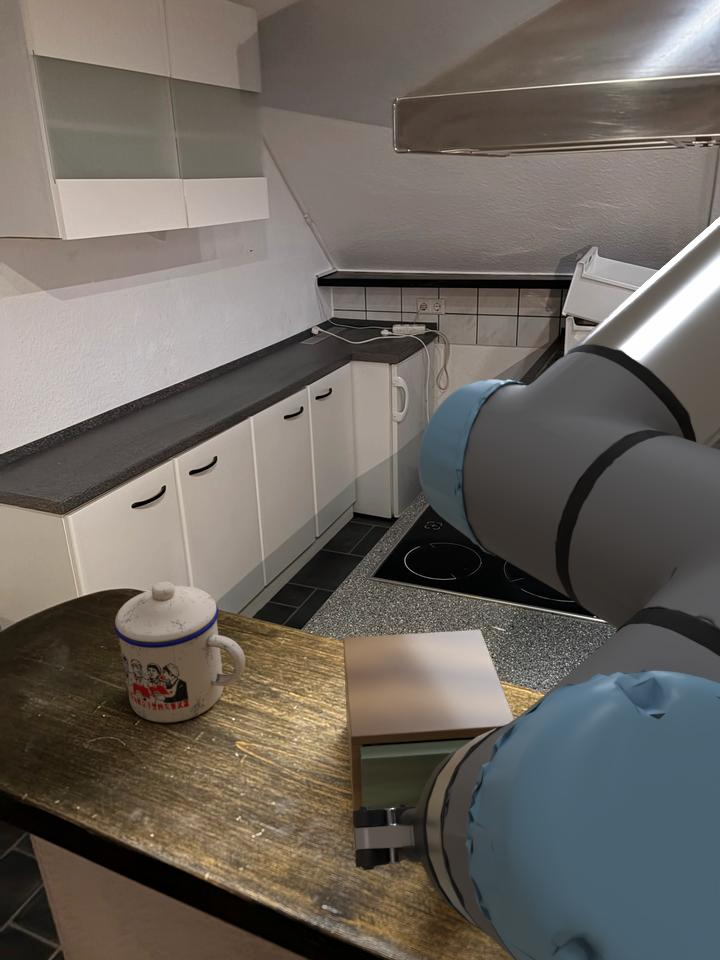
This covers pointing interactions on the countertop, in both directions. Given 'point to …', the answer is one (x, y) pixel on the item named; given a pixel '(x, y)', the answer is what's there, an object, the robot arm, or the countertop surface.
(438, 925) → the countertop surface
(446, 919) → the countertop surface
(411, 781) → the drawer
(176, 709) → the teacup with lid
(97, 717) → the countertop surface
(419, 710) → the cabinet
